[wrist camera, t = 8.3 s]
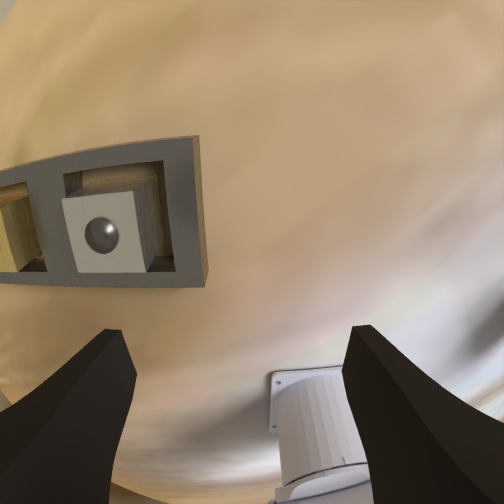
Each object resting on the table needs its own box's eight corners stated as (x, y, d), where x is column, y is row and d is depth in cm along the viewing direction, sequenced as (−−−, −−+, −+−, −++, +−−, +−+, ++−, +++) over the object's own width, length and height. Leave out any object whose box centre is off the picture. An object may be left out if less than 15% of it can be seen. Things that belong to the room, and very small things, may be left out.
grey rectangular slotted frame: (208, 270, 18) (204, 287, 16) (2, 270, 18) (-11, 282, 16) (199, 135, 15) (192, 137, 13) (-21, 177, 15) (-37, 184, 13)
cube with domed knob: (165, 240, 17) (145, 274, 14) (106, 242, 17) (77, 274, 14) (157, 174, 16) (131, 191, 12) (96, 180, 16) (59, 200, 12)
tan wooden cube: (49, 245, 17) (16, 273, 13) (14, 247, 17) (-18, 272, 13) (37, 190, 16) (-2, 210, 12) (2, 197, 16) (-34, 216, 12)
